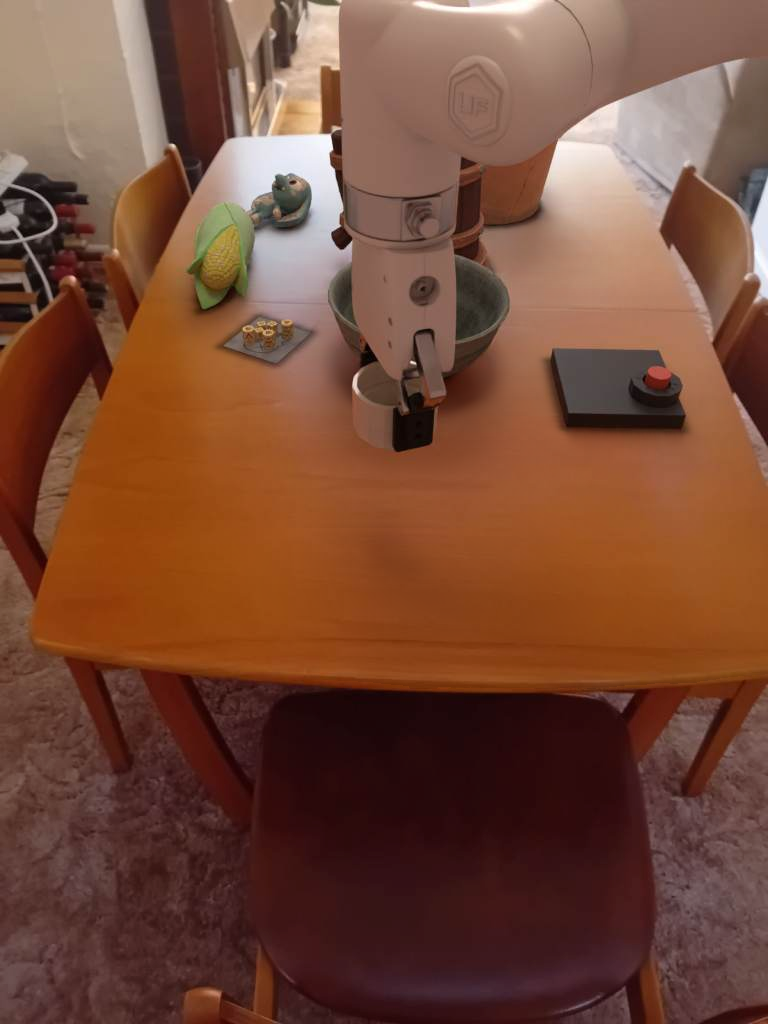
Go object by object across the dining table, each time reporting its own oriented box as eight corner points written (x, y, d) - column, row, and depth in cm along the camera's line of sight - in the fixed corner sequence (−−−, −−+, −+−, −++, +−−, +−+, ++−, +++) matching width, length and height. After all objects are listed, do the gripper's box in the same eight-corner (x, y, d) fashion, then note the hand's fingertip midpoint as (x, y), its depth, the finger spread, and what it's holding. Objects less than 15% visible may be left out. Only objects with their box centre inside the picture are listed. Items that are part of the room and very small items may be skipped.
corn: (271, 210, 116) (258, 280, 102) (244, 252, 121) (229, 324, 107) (220, 178, 113) (200, 245, 99) (195, 222, 117) (172, 293, 103)
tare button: (664, 377, 90) (668, 366, 89) (670, 391, 88) (674, 379, 87) (642, 377, 90) (645, 365, 89) (647, 390, 88) (650, 379, 87)
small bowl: (417, 396, 68) (420, 352, 65) (448, 444, 64) (452, 399, 60) (343, 412, 66) (341, 367, 63) (369, 462, 62) (368, 417, 59)
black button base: (655, 363, 98) (662, 338, 95) (682, 428, 88) (690, 403, 86) (550, 361, 98) (554, 336, 95) (565, 426, 88) (571, 401, 86)
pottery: (549, 179, 138) (563, 90, 128) (558, 236, 122) (575, 139, 112) (425, 173, 139) (430, 84, 129) (418, 229, 123) (423, 132, 113)
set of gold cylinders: (296, 334, 101) (295, 321, 100) (273, 353, 98) (272, 340, 97) (263, 324, 103) (262, 310, 102) (240, 342, 100) (238, 329, 98)
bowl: (422, 302, 107) (426, 232, 100) (535, 371, 96) (549, 298, 89) (297, 355, 98) (291, 281, 91) (406, 439, 87) (409, 362, 80)
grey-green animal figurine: (221, 184, 121) (281, 150, 125) (234, 225, 127) (291, 192, 131) (262, 206, 116) (324, 170, 120) (274, 249, 121) (332, 213, 125)
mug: (335, 238, 121) (330, 97, 107) (483, 240, 121) (498, 99, 107) (328, 299, 108) (322, 148, 94) (494, 301, 108) (513, 150, 94)
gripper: (510, 252, 47) (481, 475, 60) (406, 149, 59) (400, 354, 71) (392, 272, 45) (388, 497, 58) (309, 161, 57) (320, 369, 69)
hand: (395, 416), depth 64 cm, fingers closed on small bowl, 6 cm apart
